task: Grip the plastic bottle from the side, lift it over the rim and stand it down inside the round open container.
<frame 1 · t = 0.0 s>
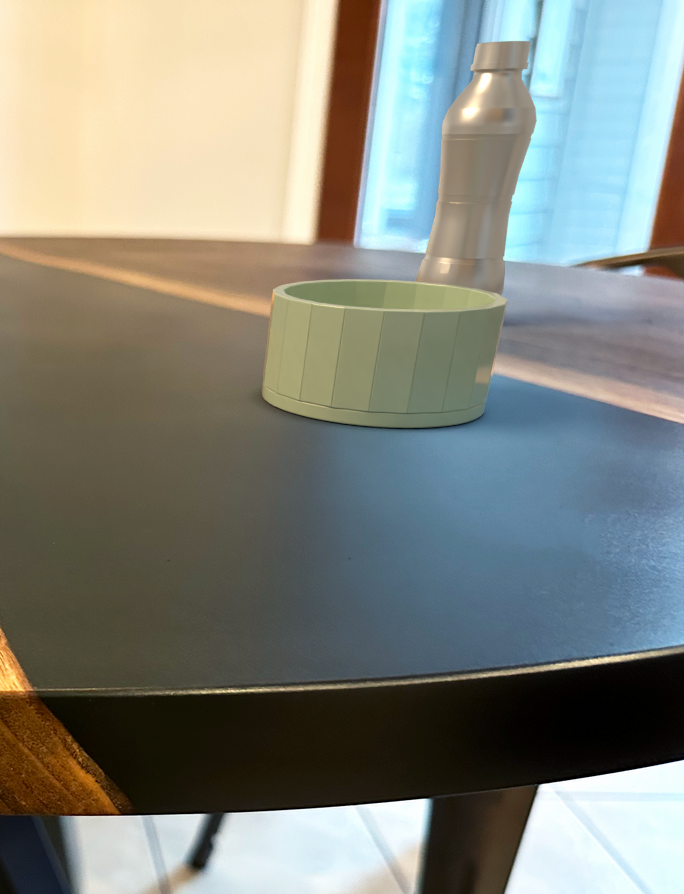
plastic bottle: (451, 321, 82), on the table
round open container: (368, 400, 58), on the table
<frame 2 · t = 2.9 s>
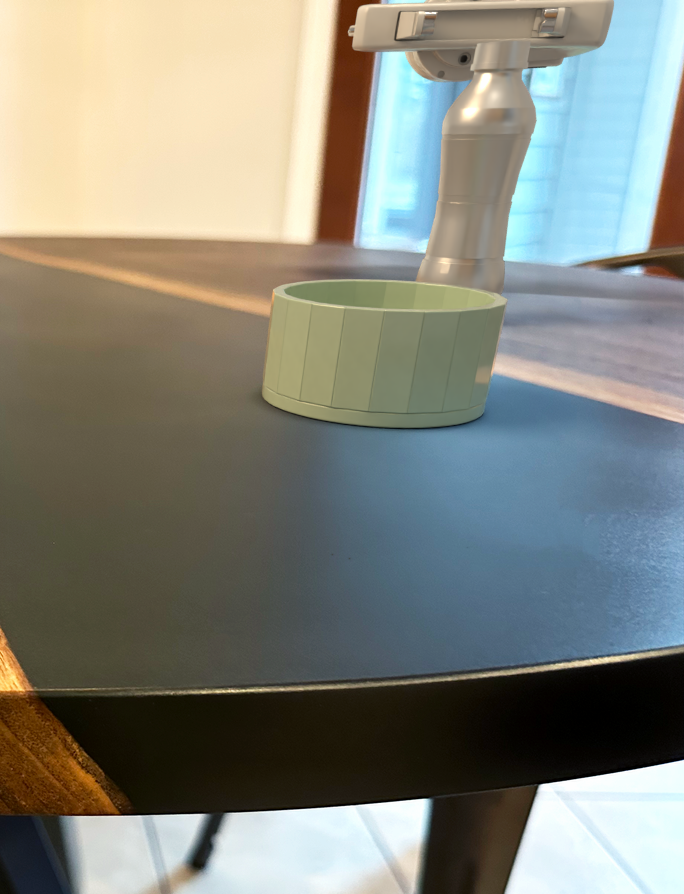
hand: (488, 21, 83), 22 cm above the table, tool horizontal, fingers open, 8 cm apart
nothing on the table moved.
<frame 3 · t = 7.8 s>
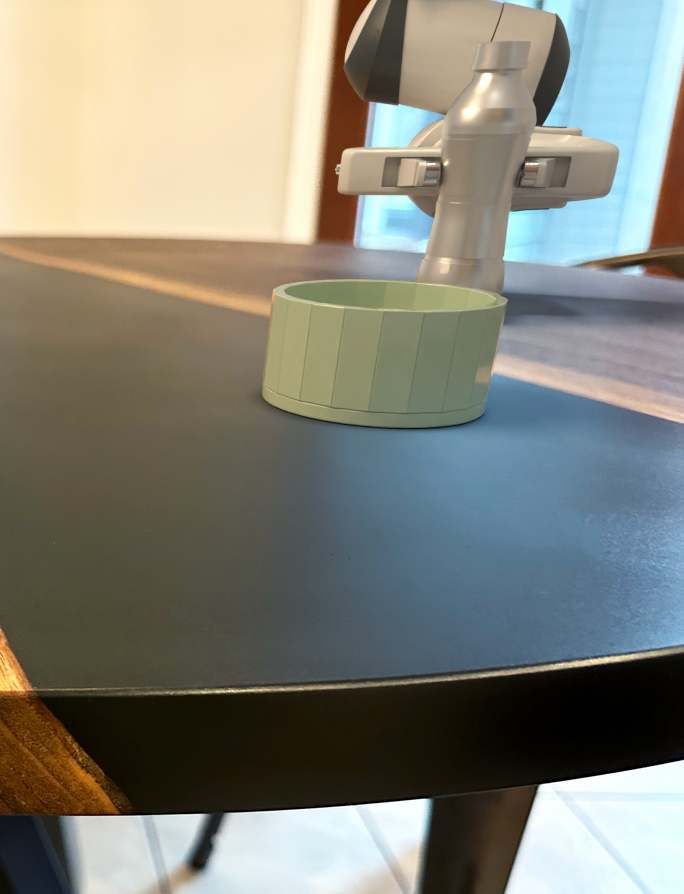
hand: (480, 174, 77), 11 cm above the table, tool horizontal, fingers closed on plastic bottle, 6 cm apart
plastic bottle: (451, 321, 82), on the table, touching gripper
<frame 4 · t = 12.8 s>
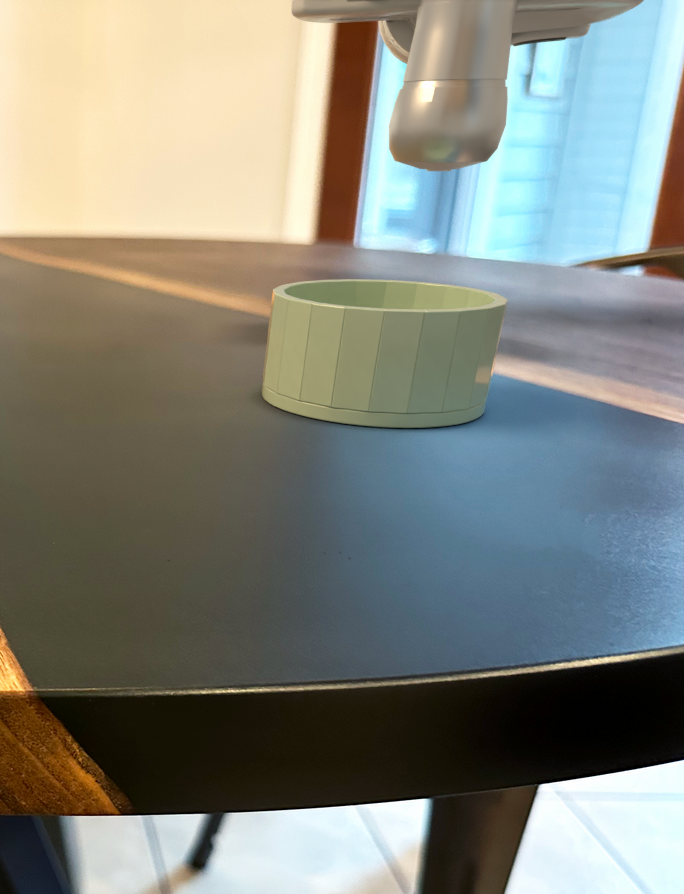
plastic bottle: (437, 174, 63), point 12 cm above the table, touching gripper
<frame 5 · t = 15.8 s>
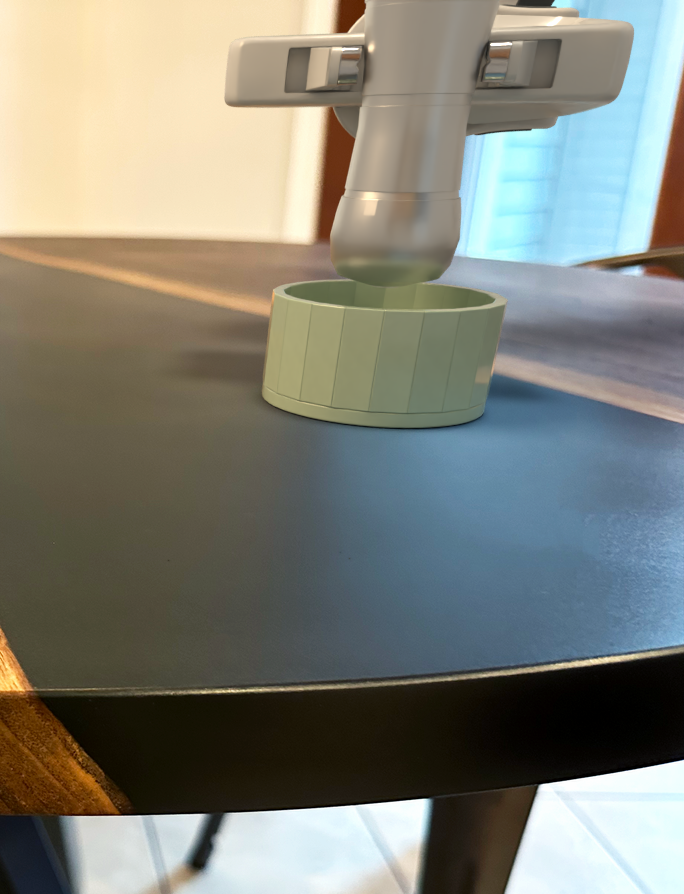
hand: (423, 63, 51), 17 cm above the table, tool horizontal, fingers closed on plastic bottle, 6 cm apart
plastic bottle: (384, 289, 56), point 6 cm above the table, touching gripper
when the fingers open (12 cm above the table, at t = 17.9 s): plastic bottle stays where it is, resting on round open container.
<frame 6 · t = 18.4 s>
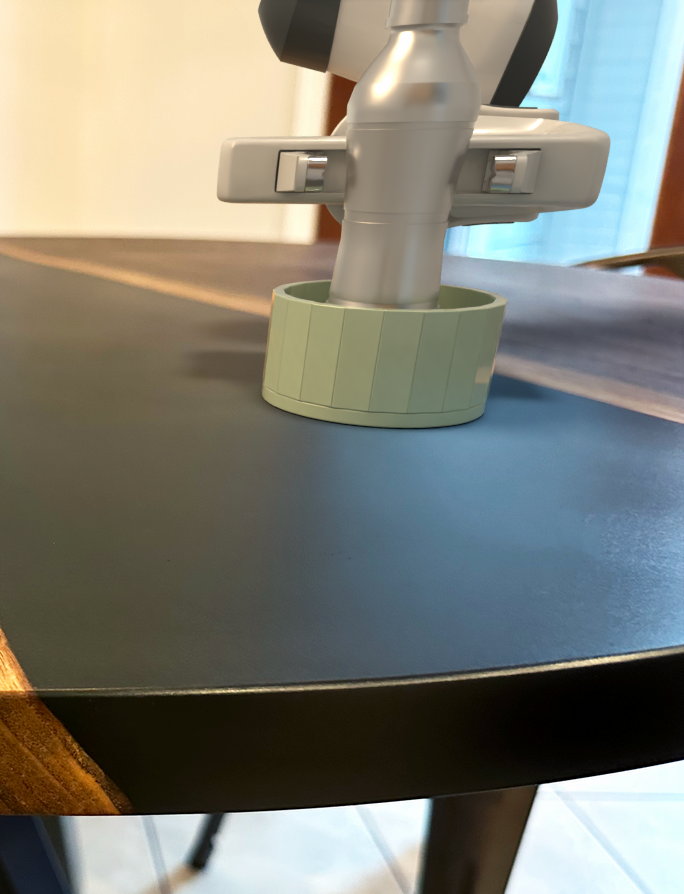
hand: (407, 174, 53), 12 cm above the table, tool horizontal, fingers open, 8 cm apart
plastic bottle: (368, 389, 58), point 1 cm above the table, touching round open container
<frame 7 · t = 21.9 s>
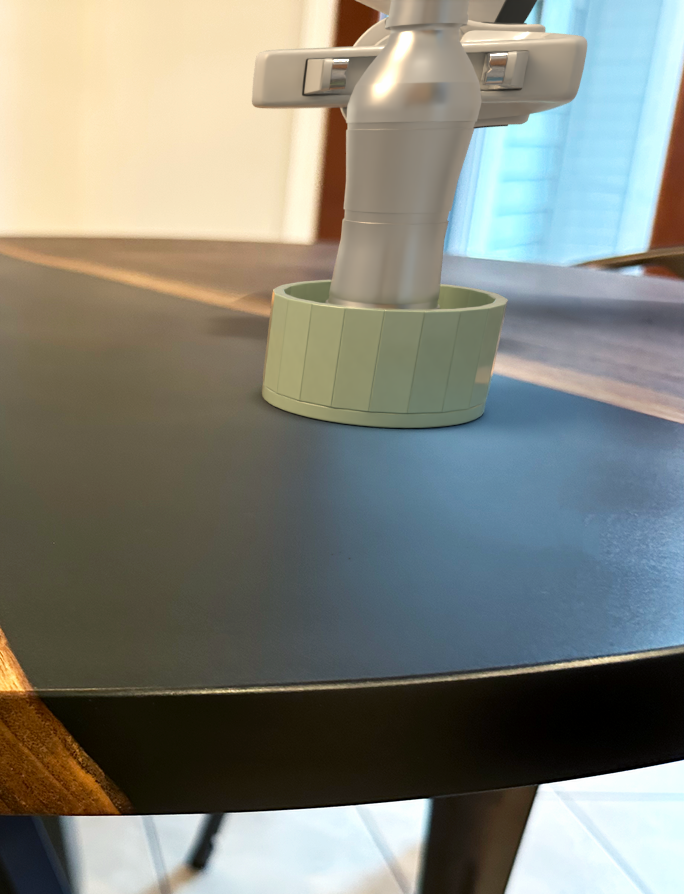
hand: (416, 70, 63), 18 cm above the table, tool horizontal, fingers open, 8 cm apart
nothing on the table moved.
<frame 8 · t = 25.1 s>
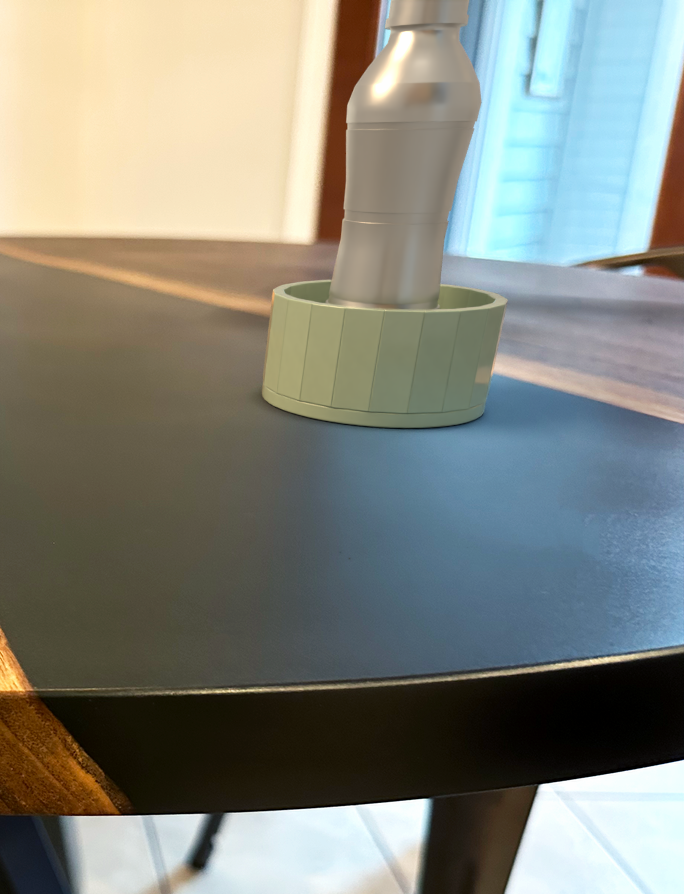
nothing on the table moved.
at the end: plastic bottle 0.1 cm off-centre in the round open container, point 0.6 cm above the round open container's base; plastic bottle tilted 0°; the gripper is holding nothing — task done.
